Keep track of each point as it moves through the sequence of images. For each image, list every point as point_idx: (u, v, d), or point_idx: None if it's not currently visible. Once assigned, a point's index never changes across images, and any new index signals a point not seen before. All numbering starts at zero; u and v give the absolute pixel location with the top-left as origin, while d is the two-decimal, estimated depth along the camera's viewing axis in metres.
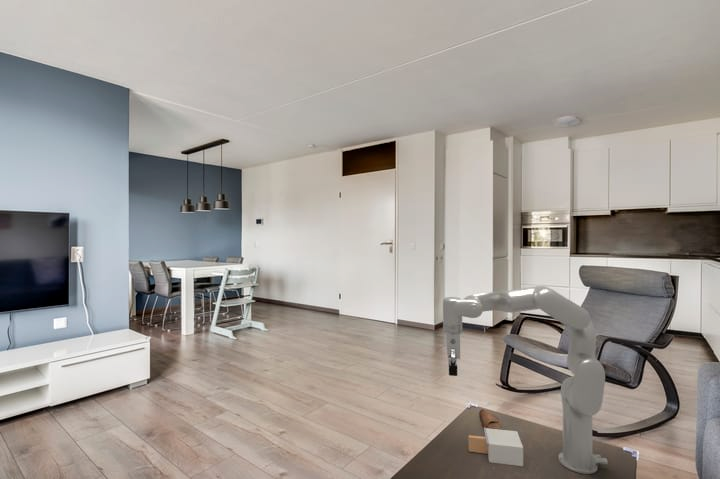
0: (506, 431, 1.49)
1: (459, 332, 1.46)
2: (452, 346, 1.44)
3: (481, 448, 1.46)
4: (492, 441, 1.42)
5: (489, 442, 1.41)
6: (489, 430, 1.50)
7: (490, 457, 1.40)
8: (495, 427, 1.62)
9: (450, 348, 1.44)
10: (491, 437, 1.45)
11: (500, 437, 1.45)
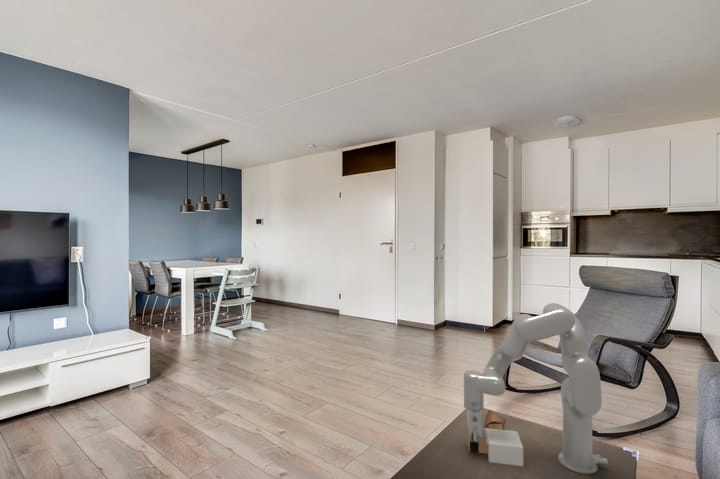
0: (506, 431, 1.49)
1: (481, 409, 1.44)
2: (474, 424, 1.42)
3: (481, 448, 1.46)
4: (492, 441, 1.42)
5: (489, 442, 1.41)
6: (489, 430, 1.50)
7: (490, 457, 1.40)
8: (496, 428, 1.62)
9: (472, 426, 1.43)
10: (491, 437, 1.45)
11: (500, 437, 1.45)
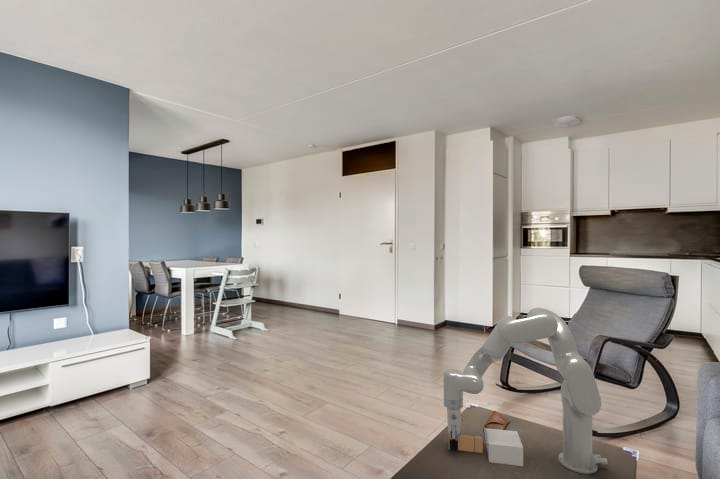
0: (506, 431, 1.49)
1: (460, 407, 1.46)
2: (453, 422, 1.44)
3: (460, 446, 1.47)
4: (492, 441, 1.42)
5: (489, 442, 1.41)
6: (489, 430, 1.50)
7: (490, 457, 1.40)
8: (496, 428, 1.61)
9: (451, 424, 1.44)
10: (491, 437, 1.45)
11: (500, 437, 1.45)
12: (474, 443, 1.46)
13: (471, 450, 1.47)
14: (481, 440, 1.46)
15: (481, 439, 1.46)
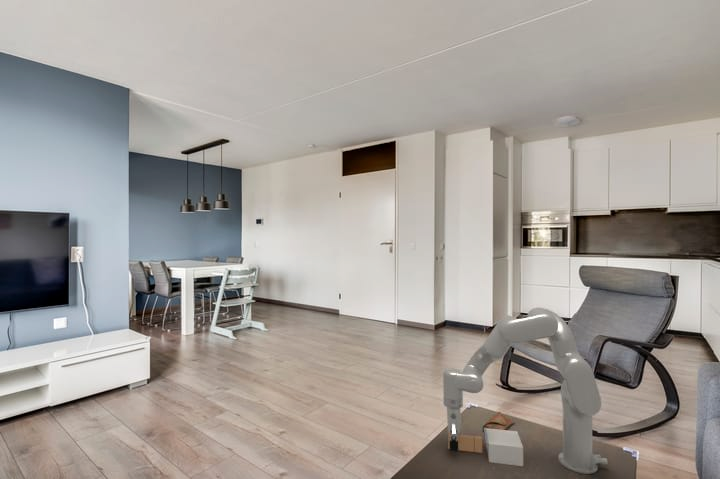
0: (506, 431, 1.49)
1: (460, 406, 1.46)
2: (453, 421, 1.44)
3: (460, 446, 1.48)
4: (492, 441, 1.42)
5: (489, 442, 1.41)
6: (489, 430, 1.50)
7: (490, 457, 1.40)
8: (496, 428, 1.61)
9: (451, 423, 1.44)
10: (491, 437, 1.45)
11: (500, 437, 1.45)
12: (474, 443, 1.46)
13: (470, 450, 1.47)
14: (481, 440, 1.46)
15: (481, 439, 1.46)
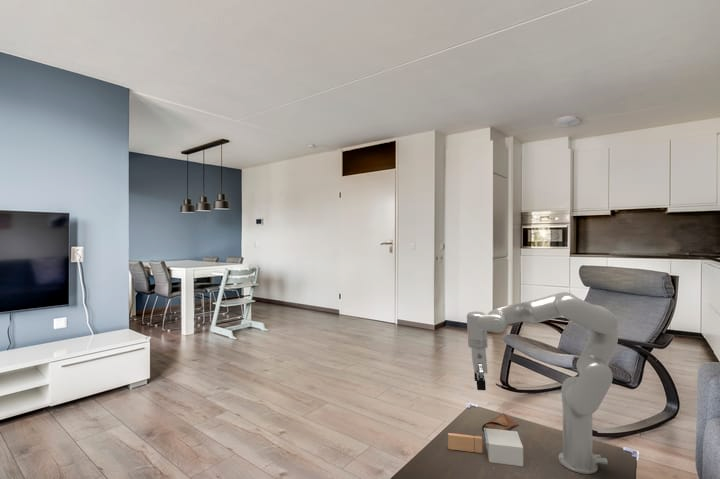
0: (506, 431, 1.49)
1: (485, 346, 1.48)
2: (479, 361, 1.46)
3: (460, 446, 1.48)
4: (492, 441, 1.42)
5: (489, 442, 1.41)
6: (489, 430, 1.50)
7: (490, 457, 1.40)
8: (495, 428, 1.61)
9: (477, 363, 1.46)
10: (491, 437, 1.45)
11: (500, 437, 1.45)
12: (474, 443, 1.46)
13: (470, 450, 1.47)
14: (481, 440, 1.46)
15: (481, 439, 1.46)
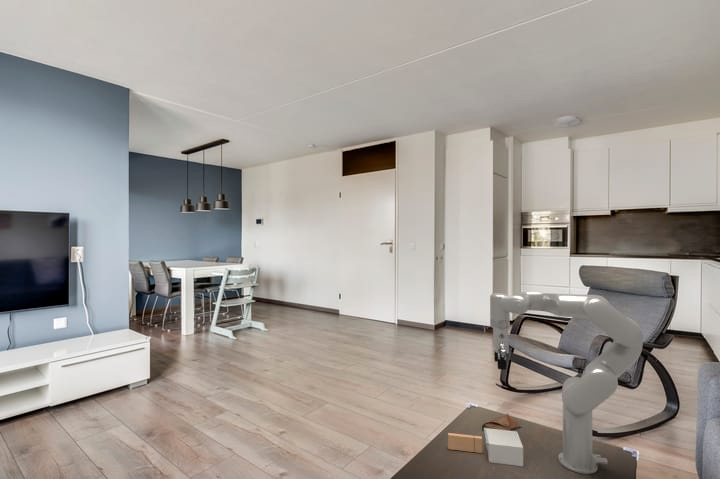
0: (506, 431, 1.49)
1: (507, 327, 1.49)
2: (501, 341, 1.48)
3: (460, 446, 1.48)
4: (492, 441, 1.42)
5: (489, 442, 1.41)
6: (489, 430, 1.50)
7: (490, 457, 1.40)
8: None
9: (499, 342, 1.48)
10: (491, 437, 1.45)
11: (500, 437, 1.45)
12: (474, 443, 1.46)
13: (470, 450, 1.47)
14: (481, 440, 1.46)
15: (481, 439, 1.46)
